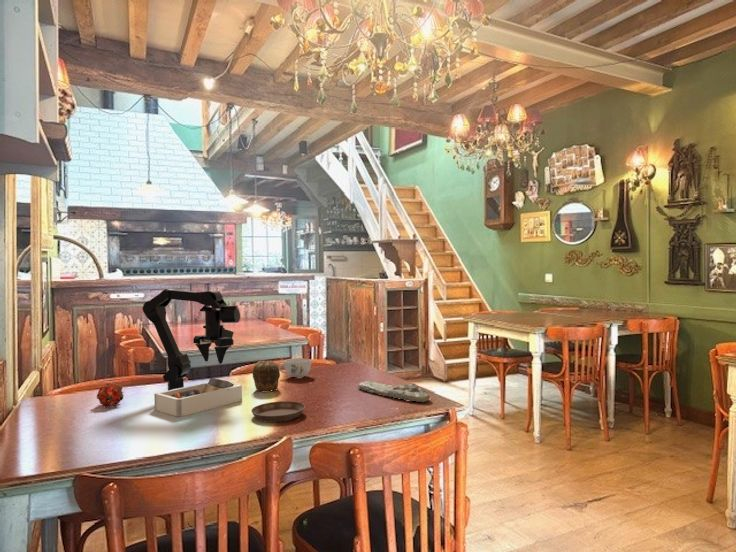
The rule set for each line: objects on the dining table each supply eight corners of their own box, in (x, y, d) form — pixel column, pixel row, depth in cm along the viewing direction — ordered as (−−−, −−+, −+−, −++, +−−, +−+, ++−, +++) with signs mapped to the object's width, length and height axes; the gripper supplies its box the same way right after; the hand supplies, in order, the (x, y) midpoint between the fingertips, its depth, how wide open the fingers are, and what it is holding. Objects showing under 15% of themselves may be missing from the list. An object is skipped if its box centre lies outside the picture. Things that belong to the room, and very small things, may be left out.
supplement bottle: (194, 398, 185) (162, 403, 177) (197, 385, 183) (165, 390, 175) (199, 408, 181) (168, 415, 174) (203, 396, 179) (170, 401, 171)
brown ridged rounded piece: (247, 392, 200) (247, 362, 200) (260, 386, 211) (259, 358, 211) (273, 394, 197) (272, 363, 197) (284, 387, 208) (283, 358, 208)
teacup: (309, 373, 236) (309, 356, 236) (314, 379, 224) (314, 361, 224) (277, 376, 232) (277, 358, 232) (280, 381, 220) (280, 363, 220)
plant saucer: (243, 424, 159) (243, 414, 159) (262, 408, 177) (262, 400, 177) (296, 425, 157) (296, 415, 157) (310, 410, 175) (310, 401, 175)
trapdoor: (205, 402, 191) (199, 399, 189) (215, 380, 194) (209, 377, 192) (224, 407, 183) (218, 404, 181) (234, 384, 187) (228, 381, 185)
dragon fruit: (114, 404, 190) (111, 417, 179) (93, 394, 187) (88, 406, 176) (128, 386, 191) (126, 398, 180) (108, 375, 188) (104, 386, 177)
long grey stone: (369, 389, 209) (352, 395, 202) (368, 377, 209) (351, 382, 202) (436, 399, 185) (419, 406, 178) (435, 385, 185) (418, 391, 178)
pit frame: (154, 409, 176) (154, 393, 176) (217, 394, 197) (217, 380, 197) (178, 417, 167) (178, 399, 167) (242, 400, 188) (241, 385, 188)
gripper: (244, 322, 196) (245, 361, 197) (216, 319, 208) (216, 357, 208) (220, 324, 188) (221, 366, 188) (192, 322, 199) (193, 361, 199)
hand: (213, 362), depth 196 cm, fingers open, 9 cm apart
